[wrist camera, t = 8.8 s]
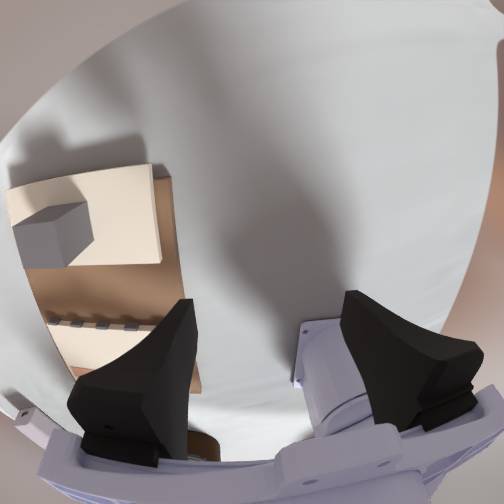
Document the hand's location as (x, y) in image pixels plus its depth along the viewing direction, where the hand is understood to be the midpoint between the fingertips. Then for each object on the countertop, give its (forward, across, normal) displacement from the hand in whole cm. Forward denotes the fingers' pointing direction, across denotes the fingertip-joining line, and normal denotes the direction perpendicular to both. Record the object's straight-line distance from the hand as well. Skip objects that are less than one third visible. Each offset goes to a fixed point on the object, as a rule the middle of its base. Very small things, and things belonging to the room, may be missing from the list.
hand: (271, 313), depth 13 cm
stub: (+8, +14, -3) cm, 16 cm away
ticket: (+8, +14, +11) cm, 20 cm away
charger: (+10, +38, +37) cm, 54 cm away
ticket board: (+9, +14, +6) cm, 18 cm away
